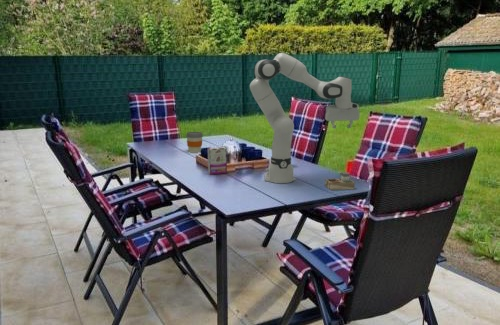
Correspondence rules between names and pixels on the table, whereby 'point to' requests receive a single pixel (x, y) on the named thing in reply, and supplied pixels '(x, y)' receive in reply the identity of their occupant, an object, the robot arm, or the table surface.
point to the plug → (345, 176)
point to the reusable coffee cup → (194, 141)
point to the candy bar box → (217, 160)
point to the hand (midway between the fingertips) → (341, 128)
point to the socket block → (339, 184)
